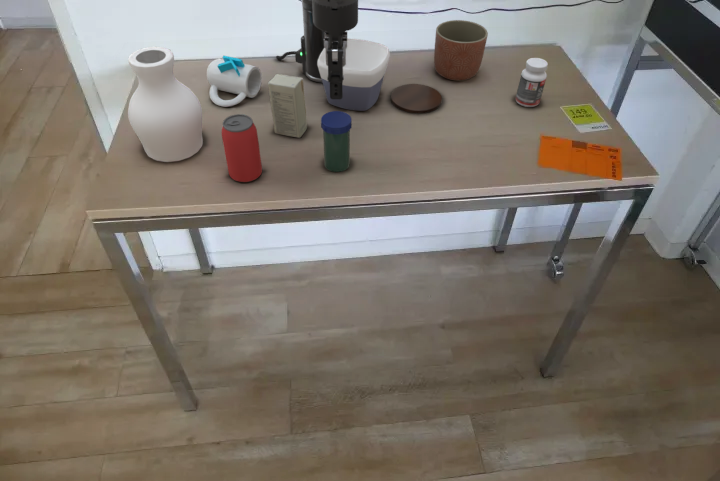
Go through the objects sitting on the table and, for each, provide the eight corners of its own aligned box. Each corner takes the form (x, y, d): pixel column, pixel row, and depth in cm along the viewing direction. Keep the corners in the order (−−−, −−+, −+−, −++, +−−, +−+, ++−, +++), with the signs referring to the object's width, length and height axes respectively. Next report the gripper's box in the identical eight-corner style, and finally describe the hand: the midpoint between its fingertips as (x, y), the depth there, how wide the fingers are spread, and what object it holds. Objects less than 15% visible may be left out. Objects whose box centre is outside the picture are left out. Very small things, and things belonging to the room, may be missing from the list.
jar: (319, 166, 114) (317, 124, 107) (332, 153, 117) (331, 111, 110) (341, 175, 112) (340, 132, 105) (354, 161, 116) (354, 118, 108)
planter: (446, 56, 149) (452, 15, 141) (488, 70, 144) (496, 28, 136) (422, 74, 141) (426, 32, 134) (465, 90, 136) (472, 47, 129)
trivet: (381, 104, 131) (381, 101, 131) (404, 82, 139) (404, 79, 138) (428, 118, 127) (428, 115, 127) (449, 95, 135) (449, 92, 134)
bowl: (375, 121, 126) (376, 75, 118) (311, 108, 130) (309, 63, 122) (393, 88, 137) (396, 44, 129) (334, 77, 140) (333, 33, 132)
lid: (315, 128, 108) (315, 122, 106) (331, 114, 111) (331, 107, 110) (341, 137, 106) (341, 131, 104) (357, 123, 109) (357, 116, 108)
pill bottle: (539, 109, 131) (550, 70, 124) (514, 106, 132) (524, 67, 125) (539, 96, 135) (549, 58, 128) (515, 94, 136) (524, 55, 129)
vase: (149, 125, 124) (123, 37, 109) (214, 126, 124) (197, 39, 110) (130, 164, 114) (99, 74, 99) (200, 165, 114) (180, 75, 99)
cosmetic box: (307, 128, 124) (304, 77, 115) (300, 139, 121) (296, 88, 112) (281, 122, 125) (276, 72, 117) (272, 133, 122) (267, 82, 114)
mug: (207, 43, 130) (253, 53, 127) (221, 70, 138) (264, 80, 135) (184, 83, 126) (230, 95, 123) (200, 108, 134) (244, 119, 131)
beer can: (230, 164, 114) (221, 112, 106) (263, 162, 115) (256, 111, 106) (227, 184, 110) (217, 132, 101) (261, 183, 110) (254, 131, 102)
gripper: (314, -22, 96) (317, 68, 108) (309, 13, 86) (314, 108, 97) (358, -21, 96) (357, 68, 108) (358, 14, 86) (357, 108, 97)
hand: (336, 87), depth 102 cm, fingers open, 7 cm apart
